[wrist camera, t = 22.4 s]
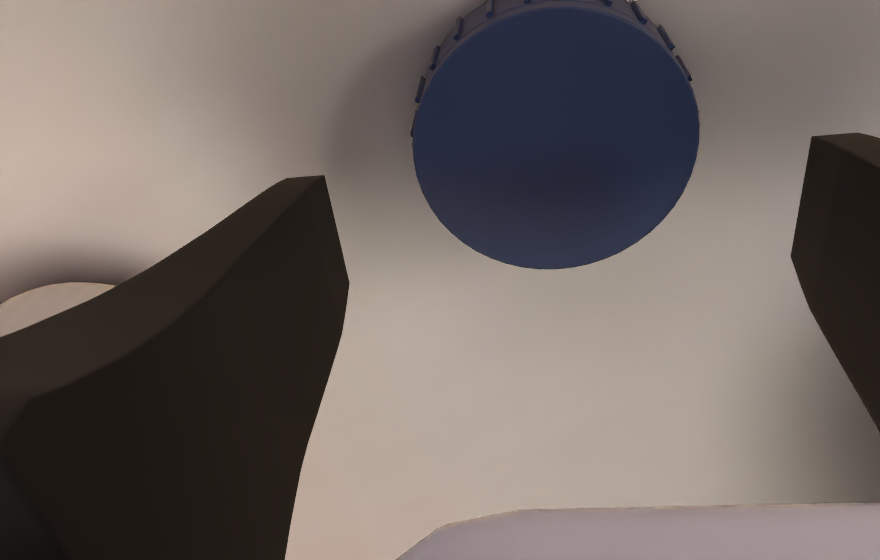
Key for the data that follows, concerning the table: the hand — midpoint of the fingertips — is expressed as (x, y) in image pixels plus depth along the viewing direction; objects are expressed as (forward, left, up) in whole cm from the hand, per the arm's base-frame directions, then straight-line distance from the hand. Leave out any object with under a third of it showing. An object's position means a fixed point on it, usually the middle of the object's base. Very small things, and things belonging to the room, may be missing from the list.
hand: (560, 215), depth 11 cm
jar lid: (0, 0, -3) cm, 3 cm away
